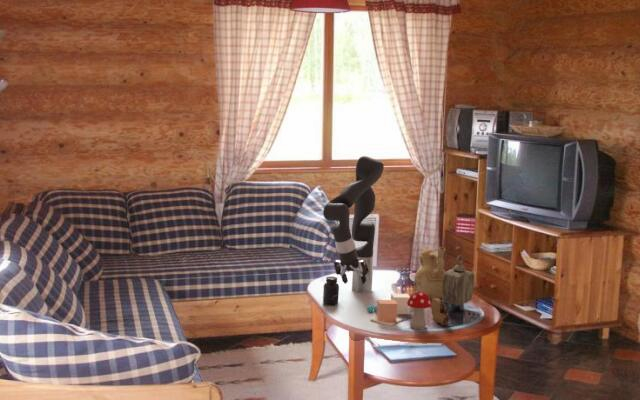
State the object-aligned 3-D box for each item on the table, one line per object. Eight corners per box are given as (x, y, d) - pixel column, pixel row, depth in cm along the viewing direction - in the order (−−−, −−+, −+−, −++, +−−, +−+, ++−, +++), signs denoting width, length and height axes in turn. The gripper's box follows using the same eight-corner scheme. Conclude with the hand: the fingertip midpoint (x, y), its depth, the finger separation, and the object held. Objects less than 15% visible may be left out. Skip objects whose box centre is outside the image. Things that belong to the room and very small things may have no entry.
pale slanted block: (392, 314, 320) (393, 297, 319) (390, 310, 325) (391, 293, 324) (409, 314, 321) (410, 297, 320) (406, 310, 326) (407, 293, 325)
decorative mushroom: (407, 330, 300) (409, 294, 297) (404, 323, 308) (406, 288, 306) (431, 330, 300) (434, 295, 298) (427, 324, 309) (430, 289, 306)
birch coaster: (381, 315, 318) (382, 313, 318) (402, 320, 312) (402, 318, 312) (370, 320, 310) (370, 319, 309) (391, 326, 304) (391, 324, 304)
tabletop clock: (454, 304, 338) (458, 250, 334) (473, 308, 333) (477, 254, 329) (440, 311, 327) (444, 256, 323) (459, 315, 321) (463, 259, 317)
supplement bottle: (336, 306, 327) (337, 280, 325) (321, 305, 329) (322, 278, 327) (339, 302, 334) (340, 276, 332) (324, 300, 335) (325, 275, 333)
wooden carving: (452, 328, 305) (454, 304, 303) (442, 328, 304) (444, 305, 302) (435, 315, 320) (437, 293, 319) (425, 316, 319) (427, 293, 318)
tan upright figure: (436, 288, 363) (440, 238, 359) (456, 300, 344) (460, 248, 340) (405, 290, 357) (408, 239, 353) (423, 302, 339) (426, 249, 335)
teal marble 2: (376, 310, 324) (376, 303, 324) (382, 311, 323) (382, 305, 322) (373, 311, 322) (373, 305, 321) (379, 313, 320) (379, 306, 320)
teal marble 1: (369, 310, 324) (369, 303, 324) (375, 311, 322) (375, 305, 322) (365, 311, 322) (366, 305, 321) (371, 313, 320) (372, 306, 319)
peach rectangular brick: (378, 321, 308) (379, 303, 307) (376, 317, 313) (377, 299, 312) (396, 321, 309) (397, 303, 308) (393, 317, 314) (394, 299, 313)
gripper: (326, 252, 304) (336, 287, 309) (357, 252, 297) (366, 287, 302) (334, 244, 310) (344, 278, 315) (365, 243, 303) (374, 278, 308)
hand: (355, 282), depth 309 cm, fingers open, 8 cm apart
